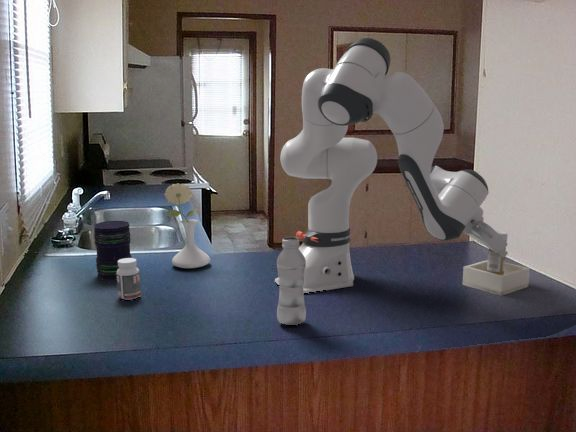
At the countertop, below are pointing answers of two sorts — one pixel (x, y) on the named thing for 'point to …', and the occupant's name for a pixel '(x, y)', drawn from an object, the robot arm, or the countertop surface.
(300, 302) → the plastic bottle
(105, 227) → the storage jar
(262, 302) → the countertop surface
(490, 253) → the sprinkles bottle
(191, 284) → the countertop surface
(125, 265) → the pill bottle
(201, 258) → the flower in vase
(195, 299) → the countertop surface
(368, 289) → the countertop surface
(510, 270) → the box
